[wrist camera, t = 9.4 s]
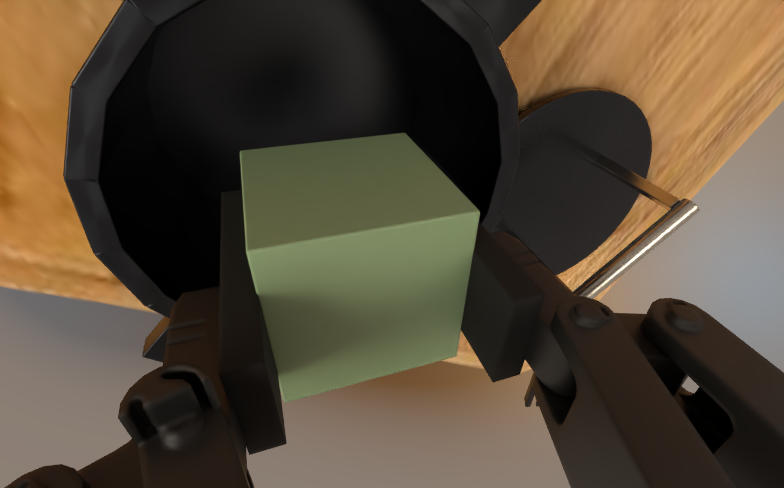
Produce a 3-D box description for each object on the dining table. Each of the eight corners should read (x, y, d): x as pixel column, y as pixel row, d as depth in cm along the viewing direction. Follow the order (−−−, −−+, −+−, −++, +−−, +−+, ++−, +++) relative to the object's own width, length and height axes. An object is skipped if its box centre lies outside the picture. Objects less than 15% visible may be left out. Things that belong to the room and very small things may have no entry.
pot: (37, 175, 19) (-78, 318, 12) (305, -236, 14) (384, -414, 7) (289, 291, 28) (311, 414, 21) (506, 59, 23) (633, 113, 16)
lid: (406, 218, 28) (462, 303, 21) (592, 27, 24) (730, 59, 17) (517, 302, 37) (579, 378, 31) (662, 175, 33) (768, 232, 27)
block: (268, 282, 14) (283, 404, 11) (239, 150, 12) (245, 251, 8) (401, 256, 16) (457, 357, 12) (405, 131, 13) (481, 211, 9)
